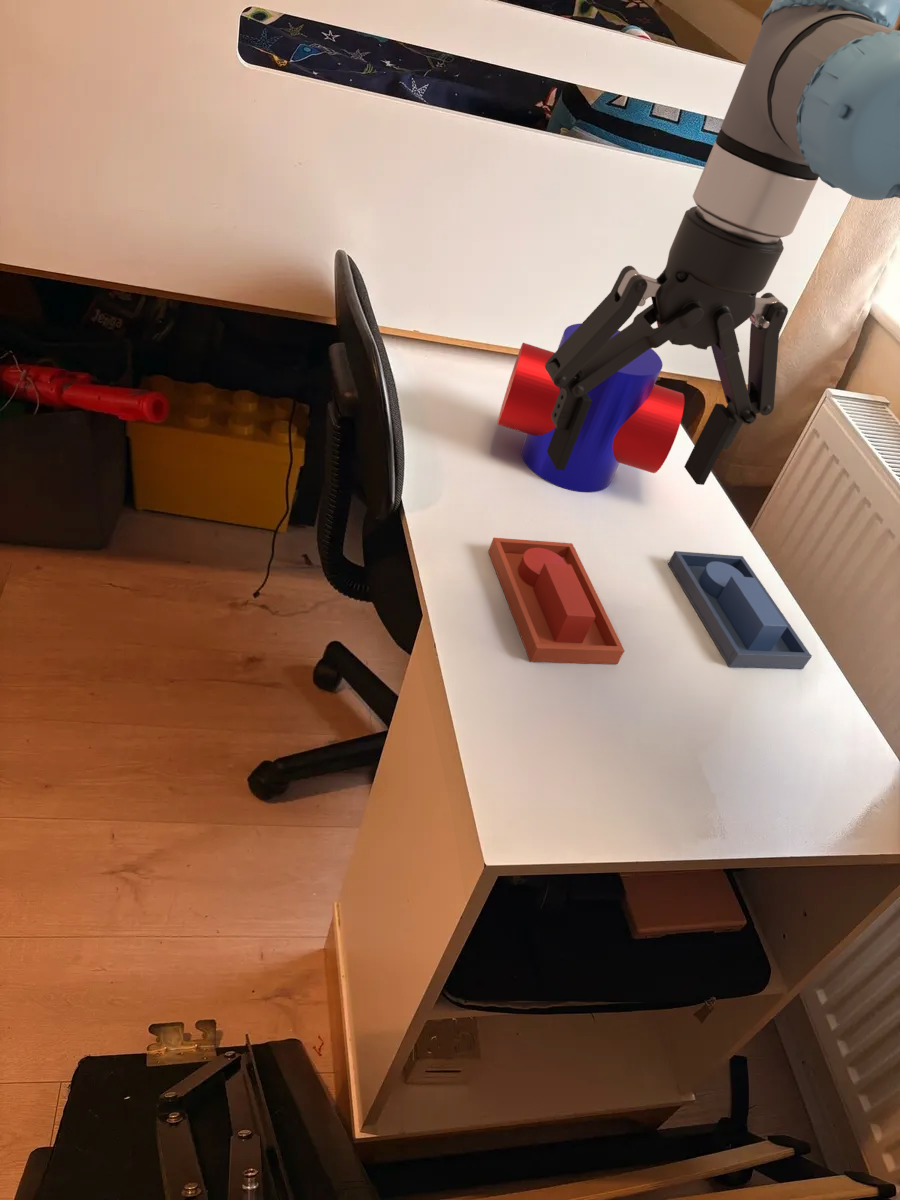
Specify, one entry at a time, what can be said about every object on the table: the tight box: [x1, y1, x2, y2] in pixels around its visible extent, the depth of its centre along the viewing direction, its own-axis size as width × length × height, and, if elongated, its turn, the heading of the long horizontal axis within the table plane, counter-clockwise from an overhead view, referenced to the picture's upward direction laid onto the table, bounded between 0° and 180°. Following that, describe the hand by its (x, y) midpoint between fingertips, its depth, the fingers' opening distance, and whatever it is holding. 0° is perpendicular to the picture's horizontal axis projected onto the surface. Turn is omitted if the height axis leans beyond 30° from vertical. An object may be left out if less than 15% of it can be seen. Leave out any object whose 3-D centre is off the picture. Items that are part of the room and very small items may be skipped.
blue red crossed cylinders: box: [496, 322, 685, 493], centre depth 108 cm, size 20×12×16 cm, turn 81°
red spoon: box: [518, 548, 596, 643], centre depth 90 cm, size 12×5×4 cm, turn 12°
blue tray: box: [667, 550, 813, 670], centre depth 97 cm, size 16×9×2 cm, turn 12°
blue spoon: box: [699, 561, 787, 650], centre depth 97 cm, size 12×5×4 cm, turn 12°
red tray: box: [488, 537, 625, 665], centre depth 90 cm, size 16×9×2 cm, turn 12°
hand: (626, 468), depth 78 cm, fingers open, 13 cm apart
